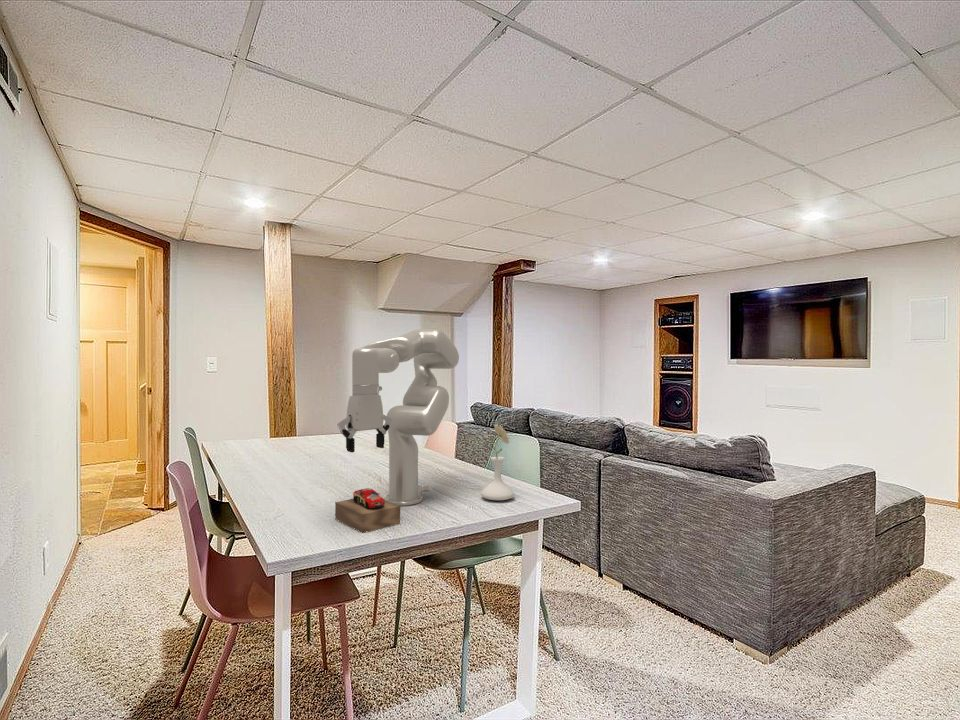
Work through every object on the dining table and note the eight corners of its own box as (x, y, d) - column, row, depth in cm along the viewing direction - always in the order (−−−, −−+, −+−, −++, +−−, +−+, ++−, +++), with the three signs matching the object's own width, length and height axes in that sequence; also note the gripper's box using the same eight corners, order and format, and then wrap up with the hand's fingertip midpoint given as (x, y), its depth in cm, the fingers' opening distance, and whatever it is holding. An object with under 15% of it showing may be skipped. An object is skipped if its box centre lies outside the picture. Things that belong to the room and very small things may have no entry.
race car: (387, 508, 144) (387, 494, 144) (369, 511, 140) (369, 496, 140) (368, 497, 154) (368, 484, 154) (350, 500, 151) (351, 487, 151)
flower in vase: (515, 503, 167) (515, 427, 167) (480, 503, 167) (481, 426, 167) (512, 493, 180) (513, 422, 180) (480, 493, 180) (480, 422, 180)
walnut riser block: (371, 511, 157) (371, 495, 157) (400, 523, 145) (400, 506, 145) (335, 519, 149) (335, 502, 149) (362, 532, 137) (362, 514, 137)
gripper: (384, 389, 157) (384, 444, 157) (331, 391, 145) (332, 451, 145) (397, 390, 151) (397, 447, 151) (344, 393, 140) (345, 455, 140)
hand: (365, 449), depth 148 cm, fingers open, 9 cm apart
